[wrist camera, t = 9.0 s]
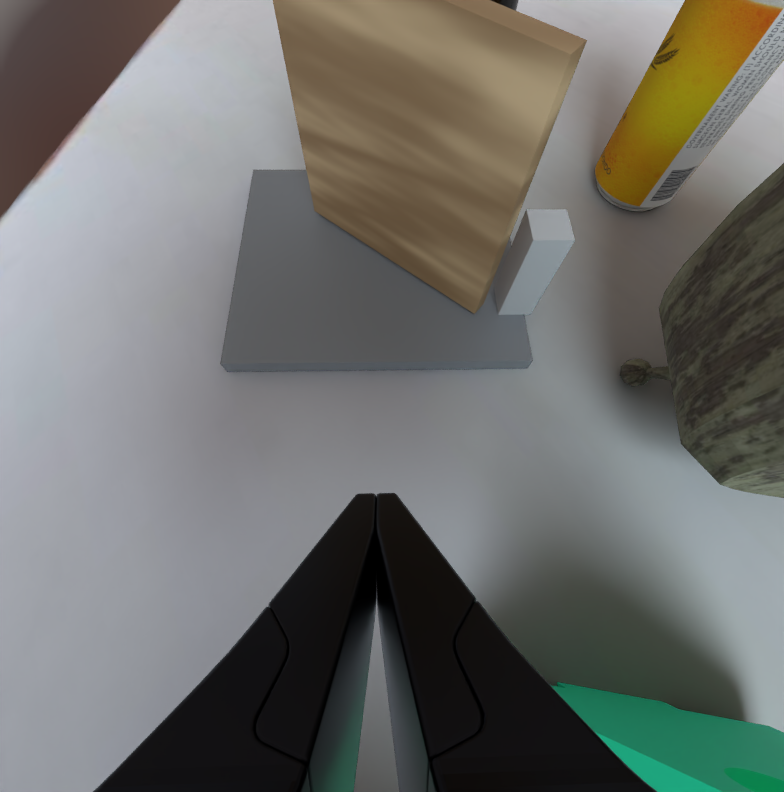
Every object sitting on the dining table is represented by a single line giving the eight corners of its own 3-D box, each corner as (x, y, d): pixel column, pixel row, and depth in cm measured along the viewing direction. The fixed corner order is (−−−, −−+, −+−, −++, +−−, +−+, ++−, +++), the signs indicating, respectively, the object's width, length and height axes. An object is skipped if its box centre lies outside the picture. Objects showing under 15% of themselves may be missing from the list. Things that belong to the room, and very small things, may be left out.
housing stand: (533, 368, 23) (590, 295, 17) (227, 371, 23) (165, 298, 16) (498, 182, 30) (530, 77, 23) (257, 182, 29) (221, 75, 23)
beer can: (636, 153, 31) (836, -168, 17) (686, 203, 29) (959, -117, 15) (574, 172, 30) (734, -153, 16) (621, 226, 28) (851, -95, 14)
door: (474, 313, 23) (570, 54, 11) (314, 210, 26) (256, -80, 14) (483, 303, 24) (586, 40, 12) (324, 202, 27) (276, -89, 15)
